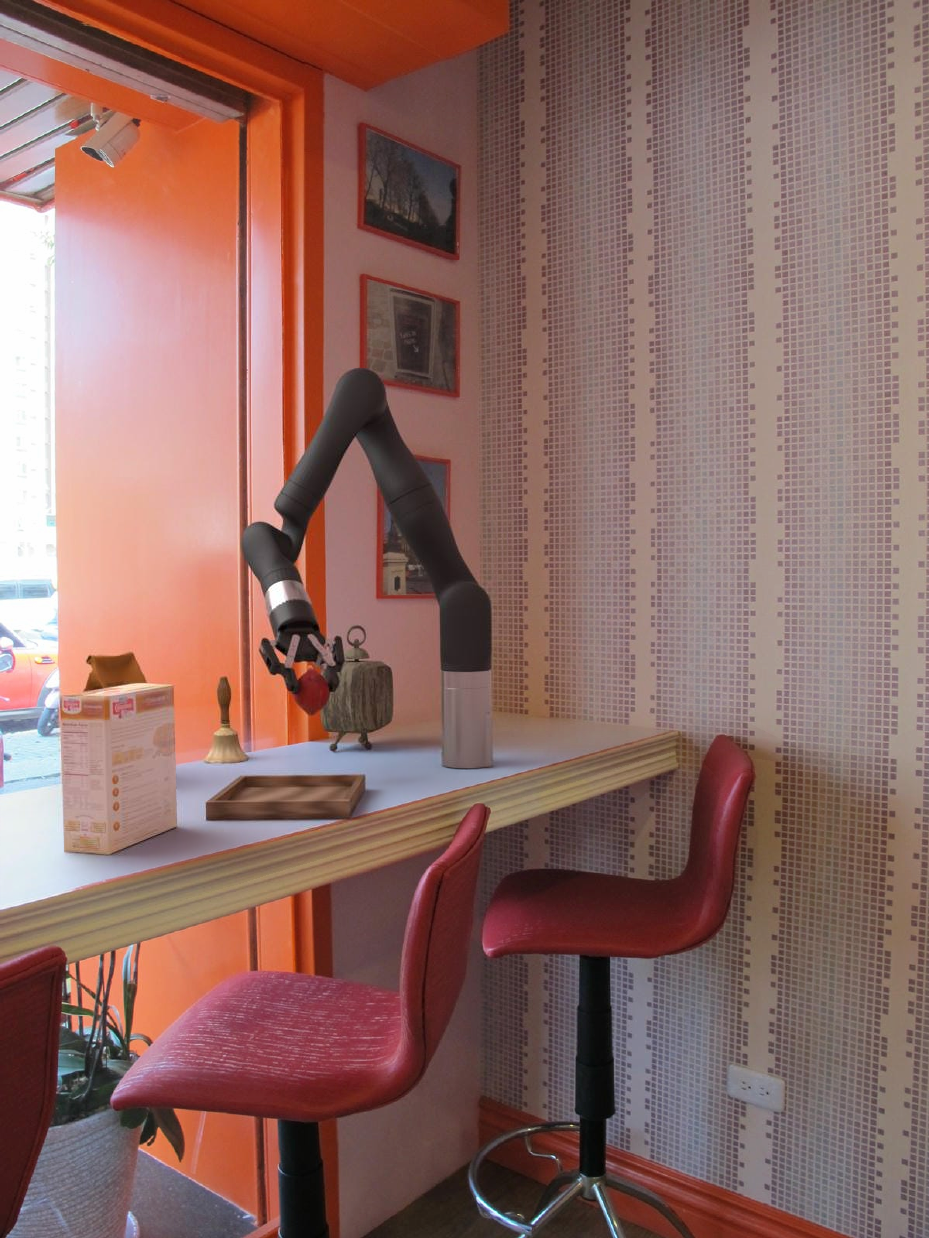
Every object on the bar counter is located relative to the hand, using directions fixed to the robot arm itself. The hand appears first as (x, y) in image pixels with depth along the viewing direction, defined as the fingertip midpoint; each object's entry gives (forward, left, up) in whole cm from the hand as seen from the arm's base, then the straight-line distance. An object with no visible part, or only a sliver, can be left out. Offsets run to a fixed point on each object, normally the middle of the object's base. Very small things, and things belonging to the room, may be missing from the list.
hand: (315, 689), depth 155 cm
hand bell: (+22, -31, -16) cm, 42 cm away
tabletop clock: (-2, -43, -16) cm, 46 cm away
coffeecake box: (+20, +29, -16) cm, 39 cm away
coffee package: (+35, -8, -16) cm, 40 cm away
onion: (+1, -2, -4) cm, 5 cm away
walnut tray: (+2, +9, -16) cm, 19 cm away
